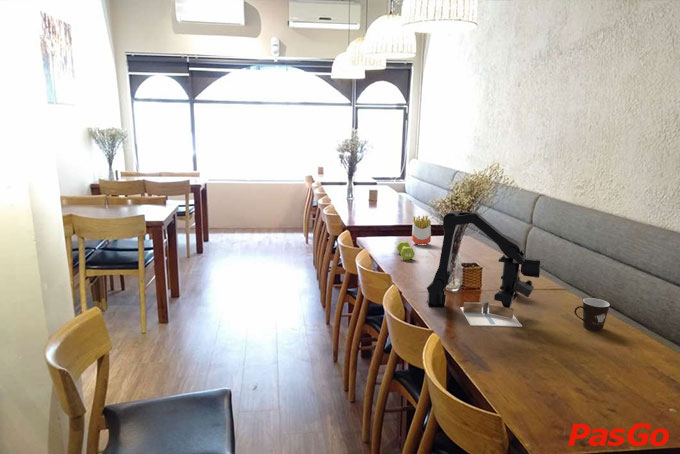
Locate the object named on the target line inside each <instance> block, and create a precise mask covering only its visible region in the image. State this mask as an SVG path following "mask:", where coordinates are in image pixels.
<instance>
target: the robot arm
mask: <svg viewBox="0 0 680 454" xmlns="http://www.w3.org/2000/svg"><path fill="white" fill-rule="evenodd" d="M442 219H443V220H442V230H443V239H442V245H441V251H440V252H441V253H440V258H439V264H438V267H437V270H436V272H435V275H434V277H433V280H432V281H431V283H429V284H428V286H427V287H426V290H427V299H426V303H427V305H428V307H429V308H445V306H446V305H445V304H446V296H447V295H446V293H445V289H446V288H447V287H448V285H449V284H451V282H452V281H453V278H452V277H453V274H454V271H453V270H451V269H450V265H451V259H452V253H453V248H454V247H453V246H454V242H455V237H456V233H457V230H458V229H459V227H460V226H462V225H466V224H467V225H468V224H472V225H474V226H475V227H476V228H477V229H478V230H480V231H481V232H482V233H483V234H484V235H486V236H487V237H488V238H490V240H491V241H493V242H494V243H496V245H497V246H498V249H499V250H500V251H501V252H502V253H503V255H502V256H501V257H499V258H498V263H503V267H502V271H503V275H502V274H501V275H500V280H501V283H502V285H501V284H500V286H499V290H498V291H496V293H495V294H494V297H493V299H494V301H495V302H496V301H498V302H501V304H502V306H503V307H508V308H512V307H511V306H512V304H513V302H514V301H515V299H516V298H517V297H518V296H519V294H521V295H523V296H524V297H526V298H529V297H530V295H531V294H532V292H533V290H534V285H533V281H531V280H529V279H528V280H526V281H525V280H521V276H518V275H519V268H520V274H521V275H523V277H529V278H536V279H539V278H540V275H541V268H542V267H541V261H542V260H541V259H538V258H527V256H526V255H525V253H524V252H523V250H522V244H521V242H520V241H517V240H515V239H514V238H513V237H510V236H508V235H506V234H504V233H503V232H501V231H500V230H499V229H498V228H496V227H495V226H494V225H493V224H491V222H489V220H487V219H485V218H484V217H483V216H482V215H481V214H480V213H479V212H478V211H471V212H470V211H468V212H467V211H462V212H459V211H457V210H451V211H449V212H447V213H446V214H445V215H444V216H443V218H442ZM501 289H502V290H503V291H501ZM516 291H517V292H518V294H517V293H516Z"/></svg>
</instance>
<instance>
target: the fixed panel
mask: <svg viewBox="0 0 680 454" xmlns="http://www.w3.org/2000/svg"><path fill="white" fill-rule="evenodd" d="M463 307H464V309H463V311H464V312H482V308H483V313H484V314H487V313H488V308H489V302H488V301H483V302H469V301H467V302H465V301H463Z"/></svg>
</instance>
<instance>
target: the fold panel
mask: <svg viewBox="0 0 680 454" xmlns="http://www.w3.org/2000/svg"><path fill="white" fill-rule="evenodd" d="M488 308H489V313H490V314H494V315H498V316H503V317H507V318H511V319H512V318H513V315H514V309H515V308H512V307H510V308H508V307H503V305H499V304H494V303H488Z"/></svg>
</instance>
